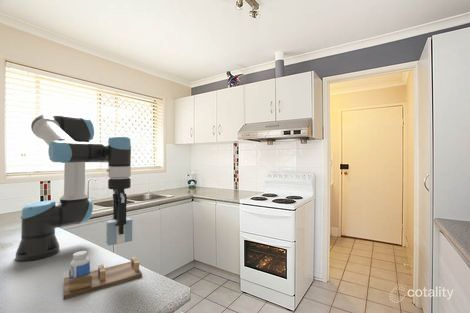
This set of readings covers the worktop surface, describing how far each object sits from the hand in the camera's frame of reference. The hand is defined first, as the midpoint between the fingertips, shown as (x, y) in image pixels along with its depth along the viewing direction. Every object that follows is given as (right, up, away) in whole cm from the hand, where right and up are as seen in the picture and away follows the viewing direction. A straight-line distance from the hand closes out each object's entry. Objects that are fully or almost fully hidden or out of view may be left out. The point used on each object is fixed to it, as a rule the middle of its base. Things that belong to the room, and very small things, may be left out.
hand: (119, 240), depth 86 cm
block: (0, 0, 0) cm, 0 cm away
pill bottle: (-10, -12, -7) cm, 17 cm away
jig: (-4, -13, -3) cm, 14 cm away
